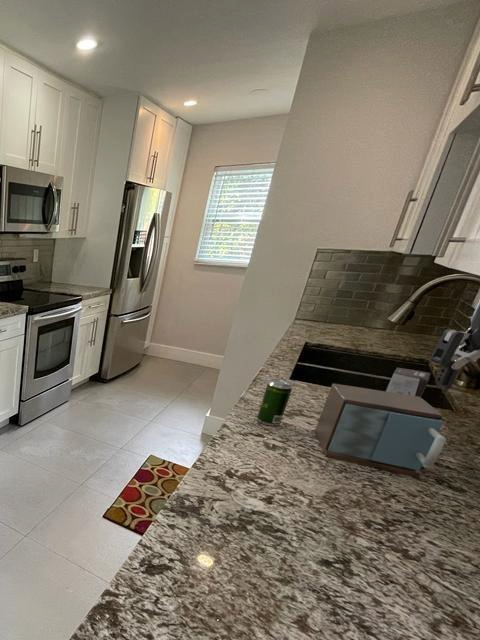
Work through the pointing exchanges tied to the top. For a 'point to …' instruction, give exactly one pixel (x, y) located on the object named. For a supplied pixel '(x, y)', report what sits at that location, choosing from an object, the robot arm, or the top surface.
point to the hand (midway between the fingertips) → (471, 389)
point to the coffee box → (408, 382)
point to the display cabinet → (364, 423)
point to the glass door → (409, 441)
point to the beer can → (274, 402)
